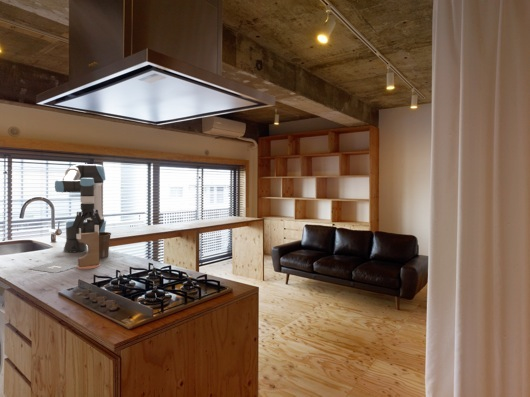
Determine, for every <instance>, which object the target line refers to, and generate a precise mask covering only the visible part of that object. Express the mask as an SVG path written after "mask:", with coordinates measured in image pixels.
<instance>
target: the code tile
mask: <svg viewBox="0 0 530 397" xmlns="http://www.w3.org/2000/svg"><path fill="white" fill-rule="evenodd" d="M77 265H78V264H77ZM77 265H76V264H75V265H74V264H69V263H68V264H67V263H60V262H49V263H46V264H45V263H44V264H41V265H38V266H35V267H30V268H29V270H31V271H32V270H33V271H39V272H45V273H46V272H47V273H53V274H58V273H61V272H65V271H68V270H72V269H76V268H77V267H76V266H77Z"/></svg>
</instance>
